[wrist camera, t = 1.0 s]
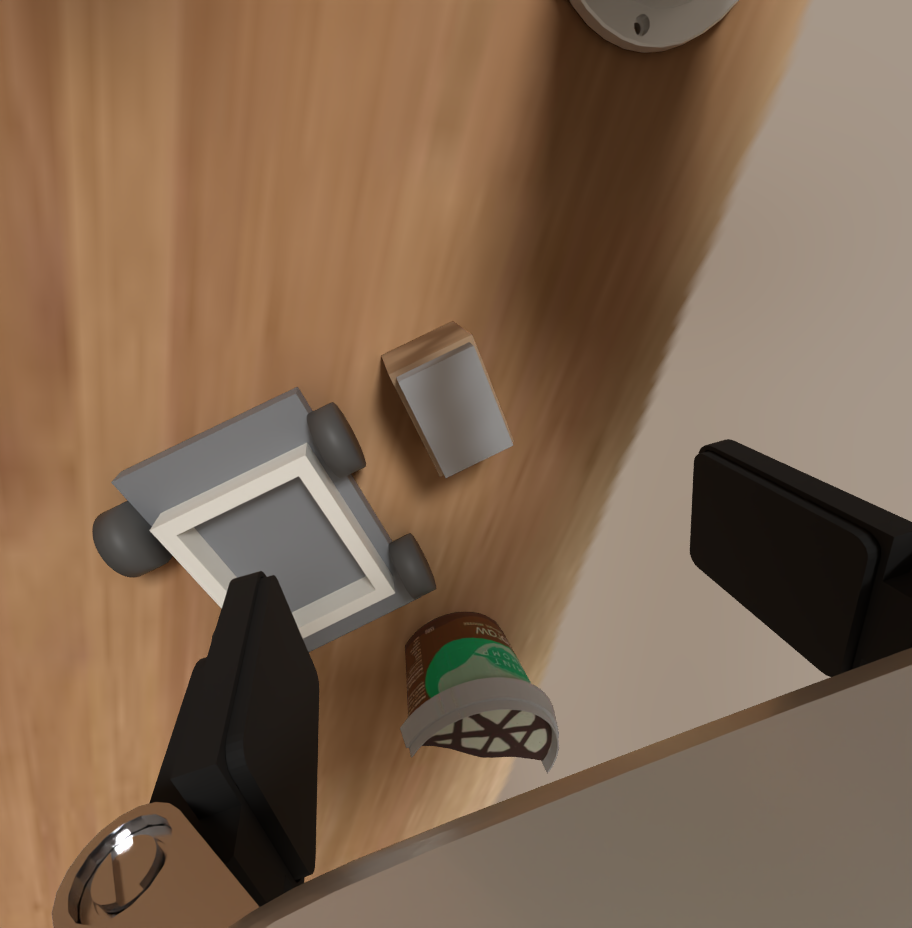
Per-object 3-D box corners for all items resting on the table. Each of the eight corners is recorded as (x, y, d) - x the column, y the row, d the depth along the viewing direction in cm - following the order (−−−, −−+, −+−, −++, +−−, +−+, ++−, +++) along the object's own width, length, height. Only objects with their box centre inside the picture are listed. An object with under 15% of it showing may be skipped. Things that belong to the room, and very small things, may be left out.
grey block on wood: (452, 320, 30) (476, 337, 25) (490, 414, 34) (519, 447, 28) (381, 355, 30) (390, 379, 25) (426, 445, 34) (443, 484, 28)
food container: (543, 618, 43) (597, 716, 34) (510, 668, 45) (553, 774, 36) (420, 585, 38) (445, 688, 29) (388, 642, 40) (403, 756, 31)
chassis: (321, 375, 30) (318, 395, 26) (436, 575, 38) (447, 613, 34) (97, 482, 30) (61, 519, 26) (263, 660, 38) (255, 708, 34)
